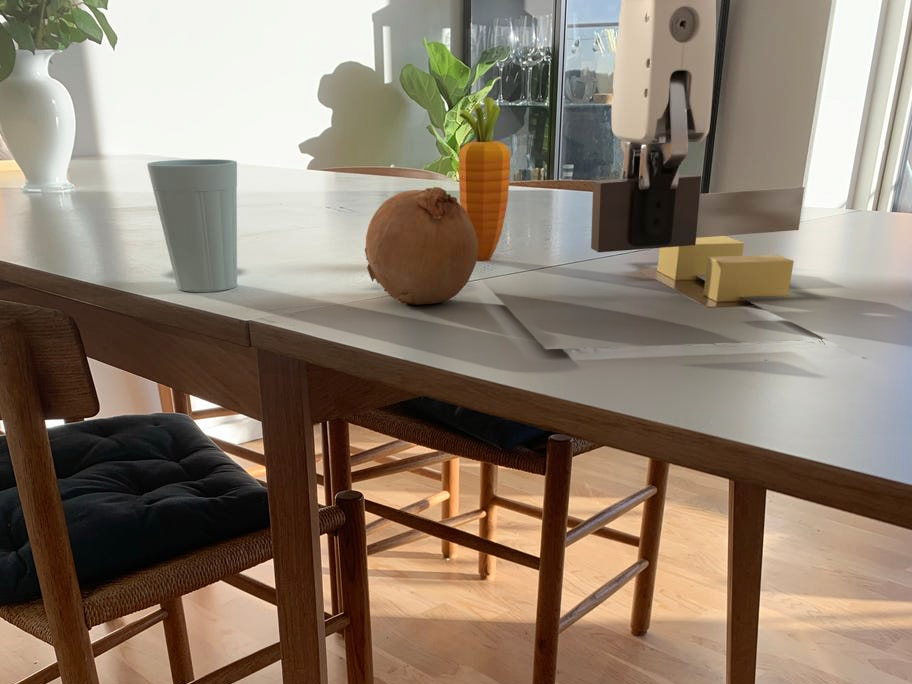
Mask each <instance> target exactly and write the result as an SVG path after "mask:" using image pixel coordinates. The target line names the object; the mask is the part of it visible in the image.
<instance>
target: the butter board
mask: <svg viewBox="0 0 912 684" xmlns="http://www.w3.org/2000/svg"><path fill="white" fill-rule="evenodd" d="M657 269H658V267H655V268H654V267H653V268H636V270H637V271H639V272H641V273H642V274H644V275H646V276H648V277H649V278H652V279H653V280H655V281H657V282H659V283H660V284H663V285H664V286H667V287H668V288H670V289H672V290H673V291H675V292H677V293H679V294H681V295H682V296H684V297H686V298H688V299H690V300H692V301H693V302H695V303H697V304H699V305H700V306H703V307H704V308H736V307H758V305H757V304H755V303H753V302H751V301H750V300H747V301H731V302H716V301H714V300H712V299H710V298H708V297H706V296H704V295H703V293H704V285H705V279H703V280H674V279H672V278H670V277H668V276H666V275H664V274H662V273H660V272H659V271H657Z"/></svg>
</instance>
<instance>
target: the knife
mask: <svg viewBox="0 0 912 684" xmlns="http://www.w3.org/2000/svg"><path fill="white" fill-rule="evenodd" d="M701 185H702V176H701V175H699V174H693V173H684V174H679V180H678V186H677V188H676V197H675V207H674V218H673V229H672V239H671V242H670V243H669V244H668V245H655V246H634V245H632V244H631V242H630V236H631V222H632V209H633V195H634V190H639V178H626V179H622V178H613V179H612V178H611V179H599V180H598V179H597V180H593V182H592V209H591V237H590V238H591V239H590V244H591V245H590V249H591V250H593V251H595V252H597V253H611V252H623V251H625V252H626V251H637V250H650V249H660V248H665V247H678V246H691V245H696V238H701V237H714V236H726V237H729V236H740V235H752V234H753V235H754V234H764V233H766V234H767V233H777V232H779V233H780V232H781V233H782V232H792V231H800V223H801V216H802V208H803V201H804V194H805V186H794V187H792V186H791V187H778V188H777V187H776V188H764V189H750V190H749V189H748V190H738V191H737V190H736V191H724V192H723V191H722V192H709V193H701Z"/></svg>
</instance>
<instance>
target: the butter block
mask: <svg viewBox="0 0 912 684" xmlns="http://www.w3.org/2000/svg"><path fill="white" fill-rule="evenodd" d="M744 249H745V242H743V241H740V240H737V239H734V238H731V237H729V236H714V237H701V238H696V245H691V246H678V247H665V248H659V249H658V259H657V268H658V269H657V271H659V272H660V273H662V274H664V275H666V276H668V277H670V278H672V279H674V280H704V279H703V278H701V277H699V276H706V270H707V263H708V257H721V256H744Z"/></svg>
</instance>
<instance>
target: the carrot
mask: <svg viewBox="0 0 912 684" xmlns="http://www.w3.org/2000/svg"><path fill="white" fill-rule="evenodd" d="M483 103H484V104H483V105H484V112H483V107H482V106H481V104H480V103H476V104H474V105H473V108H474V112H475V117H476V119H475V117H474V116H473V115H472V114H471V113H470V112H469V111H468V110H465V109H462V110H460V112H459V117H461V118H462V119H463V120H465V121H466V122H467V123H468V125H469V126H470V128H471V129H472V131H473V133H474V136H475V139H476V140H473V141H470V142H467V143H465V144H463V146H461V148H460V149H459V152H458V153H459V154H458V186H459V189H458V190H459V204H460V205H461V206H462V207H463V208H464V210H465V211H466V213H467V215H468V217H469V218H470V220H471V222H472V225H473V227H474V229H475V233H476V237H477V242H478V256H477V260H476V262H489V261H491V260H492V258H493V255H494V253H495V251H496V250H497V246H498V244H499V241H500V238H501V235H502V232H503V226H504V222H505V218H506V213H507V206H508V202H509V201H508V200H509V189H510V188H509V187H510V174H511V152H510V149H509V147H508V146H507V145H506V144H505V143H503V142H500V141H496V140H493V136H494V128H495V125H496V123H497V120H498V117H499V116H500V111H501V108H500V106H499V105H498V104H495V99H494V98H492V97H488V96H487V97H485V98H484V100H483Z"/></svg>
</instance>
